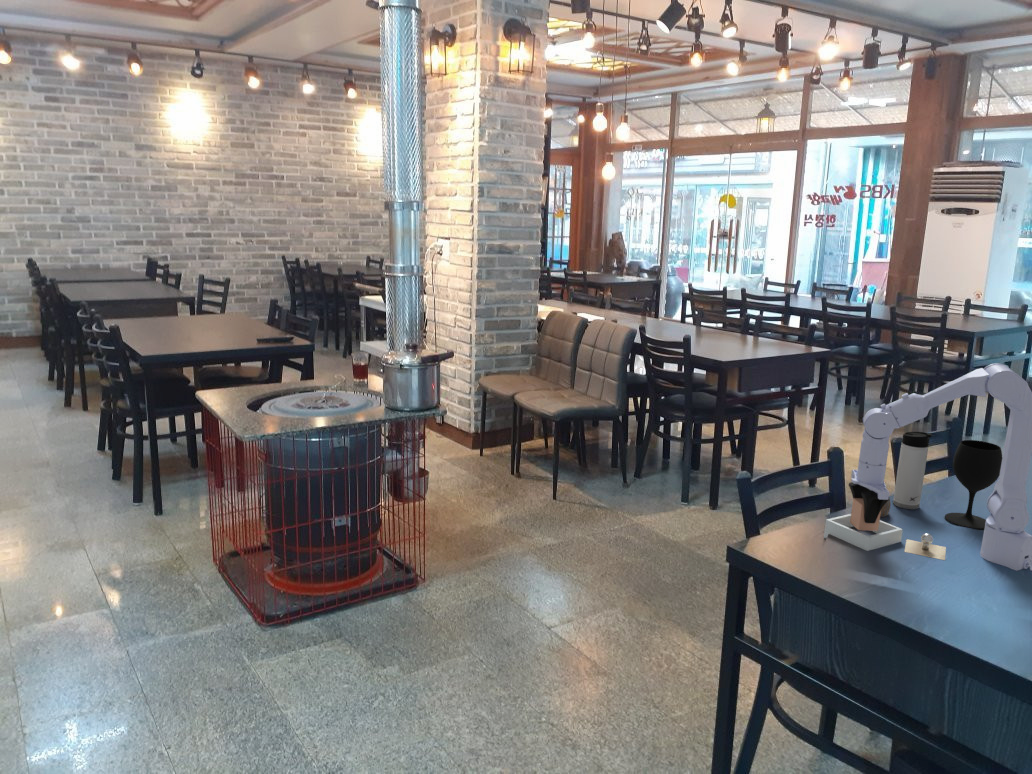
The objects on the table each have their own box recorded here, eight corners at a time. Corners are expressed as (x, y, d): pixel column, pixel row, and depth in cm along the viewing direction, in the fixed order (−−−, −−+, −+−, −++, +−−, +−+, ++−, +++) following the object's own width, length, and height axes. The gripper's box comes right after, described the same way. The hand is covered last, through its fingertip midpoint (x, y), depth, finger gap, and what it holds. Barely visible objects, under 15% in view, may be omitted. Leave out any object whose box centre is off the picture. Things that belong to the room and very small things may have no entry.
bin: (900, 547, 182) (902, 529, 181) (866, 557, 176) (869, 538, 175) (856, 529, 192) (859, 511, 191) (823, 537, 186) (826, 519, 185)
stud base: (944, 553, 179) (948, 531, 178) (944, 566, 173) (947, 544, 171) (905, 545, 183) (908, 524, 182) (903, 557, 176) (906, 536, 175)
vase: (856, 519, 198) (861, 486, 196) (859, 510, 204) (864, 478, 202) (887, 525, 195) (892, 491, 193) (889, 516, 201) (893, 483, 199)
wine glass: (949, 510, 206) (961, 436, 201) (995, 521, 199) (1008, 445, 195) (939, 522, 198) (952, 445, 193) (987, 533, 192) (1001, 454, 187)
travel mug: (917, 511, 204) (929, 437, 200) (890, 505, 208) (901, 432, 204) (922, 505, 209) (934, 432, 205) (895, 499, 213) (906, 427, 208)
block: (869, 523, 185) (872, 498, 184) (877, 530, 181) (881, 505, 180) (849, 522, 185) (853, 498, 184) (858, 530, 181) (862, 505, 179)
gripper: (841, 451, 186) (834, 506, 189) (869, 471, 172) (861, 530, 175) (871, 452, 187) (863, 506, 190) (901, 472, 173) (893, 531, 176)
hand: (864, 518), depth 183 cm, fingers closed on block, 4 cm apart
